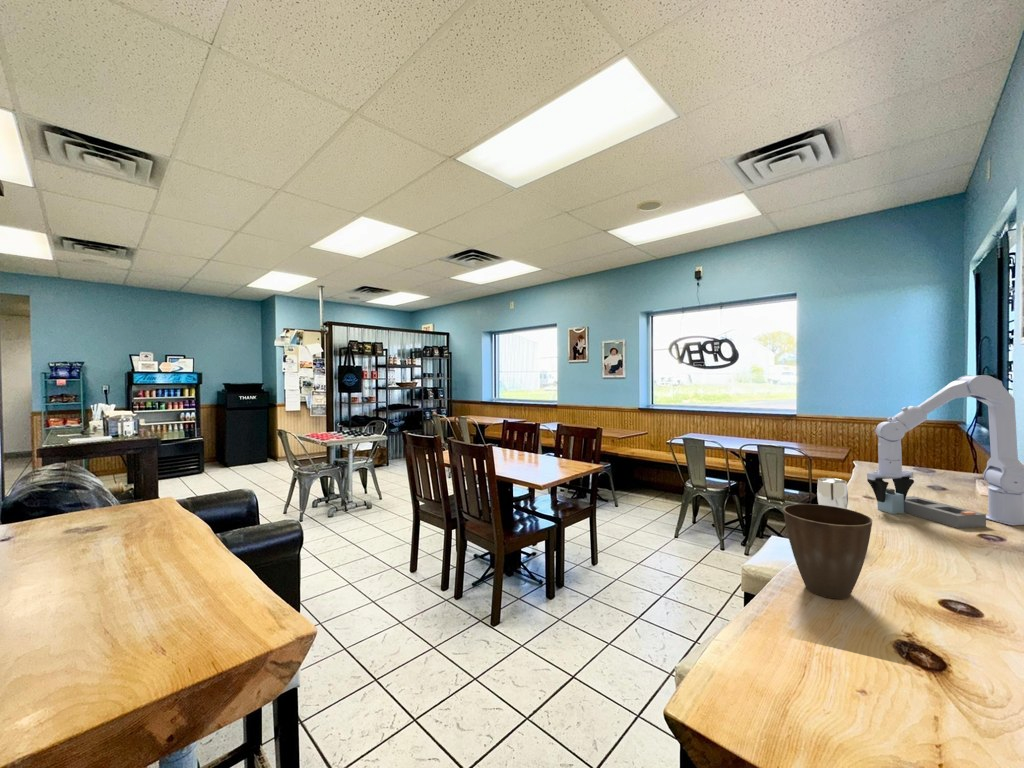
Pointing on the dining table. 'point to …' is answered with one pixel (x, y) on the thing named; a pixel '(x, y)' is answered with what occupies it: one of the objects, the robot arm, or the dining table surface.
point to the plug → (892, 502)
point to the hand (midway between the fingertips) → (890, 500)
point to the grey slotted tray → (944, 513)
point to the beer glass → (832, 492)
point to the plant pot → (828, 546)
